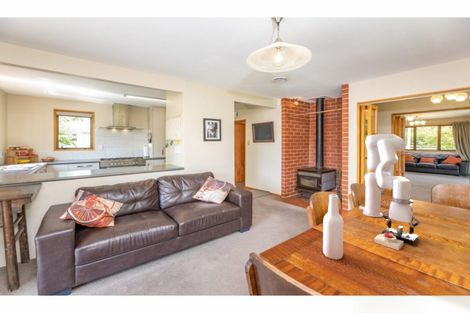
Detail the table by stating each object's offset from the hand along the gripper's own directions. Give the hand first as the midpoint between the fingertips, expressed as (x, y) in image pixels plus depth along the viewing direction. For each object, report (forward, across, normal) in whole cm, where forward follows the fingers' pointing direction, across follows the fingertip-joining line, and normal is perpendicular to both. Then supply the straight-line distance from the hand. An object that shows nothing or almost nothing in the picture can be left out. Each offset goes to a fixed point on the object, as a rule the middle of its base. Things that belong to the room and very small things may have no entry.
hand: (399, 230), depth 115 cm
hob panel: (+5, 0, 0) cm, 5 cm away
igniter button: (+1, +2, +12) cm, 12 cm away
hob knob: (+2, 0, 0) cm, 2 cm away
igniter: (+5, +2, +12) cm, 13 cm away
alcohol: (+5, +15, +45) cm, 48 cm away
